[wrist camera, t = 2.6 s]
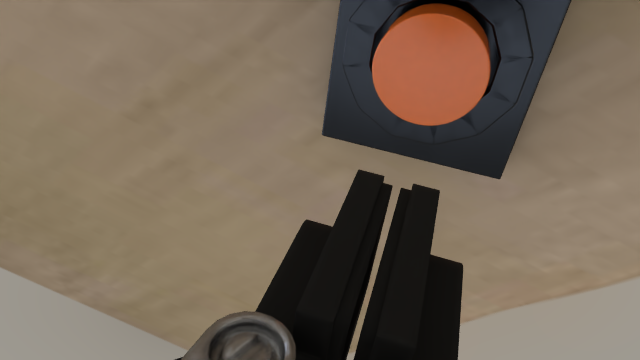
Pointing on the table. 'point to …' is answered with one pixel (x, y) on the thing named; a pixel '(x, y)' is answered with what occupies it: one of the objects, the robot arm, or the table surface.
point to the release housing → (471, 129)
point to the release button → (432, 64)
